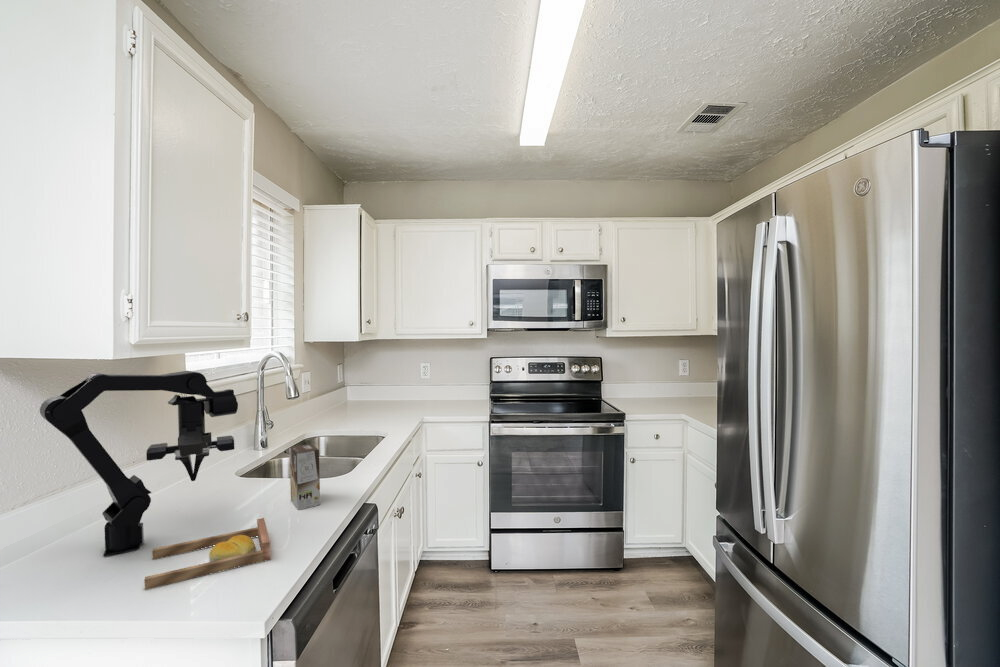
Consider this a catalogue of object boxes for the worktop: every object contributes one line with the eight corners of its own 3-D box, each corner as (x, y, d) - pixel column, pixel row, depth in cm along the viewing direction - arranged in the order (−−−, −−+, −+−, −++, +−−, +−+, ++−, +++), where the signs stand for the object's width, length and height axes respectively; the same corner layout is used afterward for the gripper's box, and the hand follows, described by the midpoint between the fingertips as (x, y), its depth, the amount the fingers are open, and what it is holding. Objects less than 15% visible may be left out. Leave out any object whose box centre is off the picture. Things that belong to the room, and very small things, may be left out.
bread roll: (202, 560, 107) (201, 543, 107) (242, 544, 114) (241, 528, 114) (222, 570, 102) (221, 552, 102) (262, 553, 110) (261, 535, 110)
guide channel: (144, 589, 95) (144, 569, 95) (153, 557, 108) (152, 539, 108) (270, 559, 107) (270, 541, 106) (264, 533, 120) (264, 517, 120)
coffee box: (321, 505, 138) (320, 449, 138) (297, 510, 134) (296, 453, 134) (312, 495, 145) (310, 443, 145) (289, 500, 142) (288, 446, 141)
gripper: (142, 430, 112) (144, 497, 112) (234, 421, 121) (236, 482, 122) (148, 422, 121) (150, 483, 122) (232, 414, 131) (234, 471, 131)
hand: (193, 480), depth 124 cm, fingers closed
